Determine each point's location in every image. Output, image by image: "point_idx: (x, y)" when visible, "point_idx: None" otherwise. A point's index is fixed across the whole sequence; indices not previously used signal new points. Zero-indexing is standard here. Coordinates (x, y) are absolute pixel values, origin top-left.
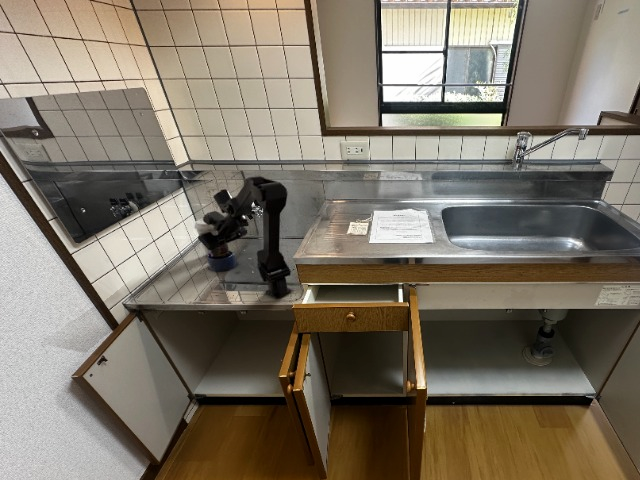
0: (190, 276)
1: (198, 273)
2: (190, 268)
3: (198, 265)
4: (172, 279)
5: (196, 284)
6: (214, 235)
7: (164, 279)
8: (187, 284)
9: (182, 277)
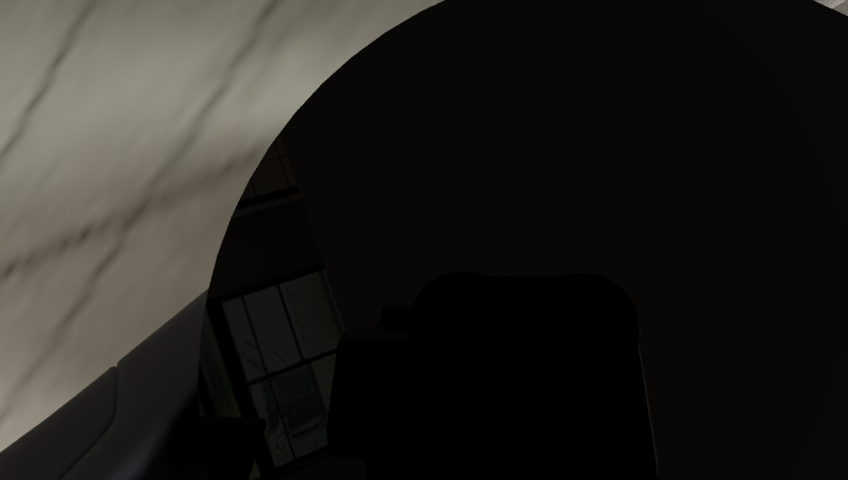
0: (156, 176)
1: (240, 192)
2: (298, 15)
3: (393, 25)
4: (43, 75)
5: (50, 373)
6: (835, 53)
7: (16, 9)
8: (19, 293)
9: (109, 123)
